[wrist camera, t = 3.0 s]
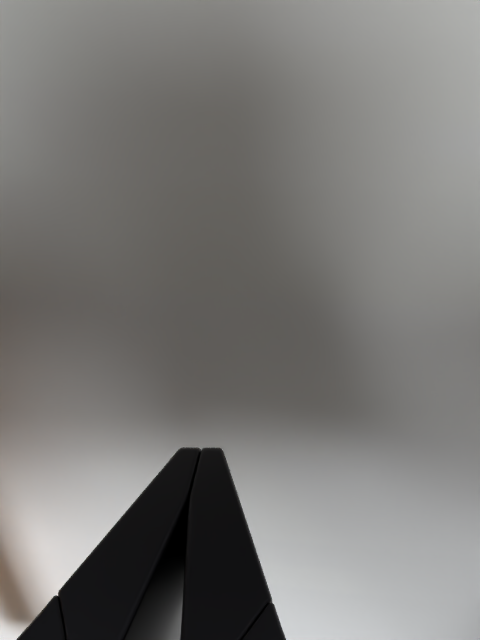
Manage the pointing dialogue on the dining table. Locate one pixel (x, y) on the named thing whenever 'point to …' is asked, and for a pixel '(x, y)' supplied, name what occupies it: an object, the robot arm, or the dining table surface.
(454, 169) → the dining table surface
